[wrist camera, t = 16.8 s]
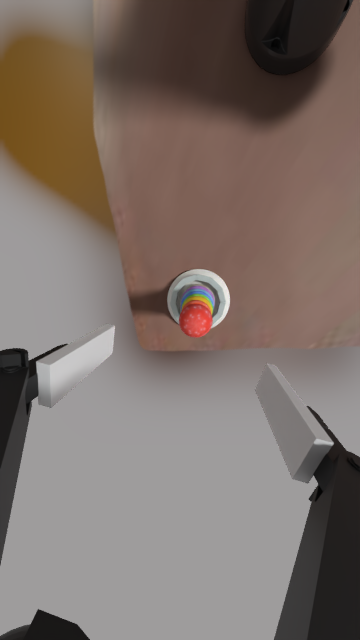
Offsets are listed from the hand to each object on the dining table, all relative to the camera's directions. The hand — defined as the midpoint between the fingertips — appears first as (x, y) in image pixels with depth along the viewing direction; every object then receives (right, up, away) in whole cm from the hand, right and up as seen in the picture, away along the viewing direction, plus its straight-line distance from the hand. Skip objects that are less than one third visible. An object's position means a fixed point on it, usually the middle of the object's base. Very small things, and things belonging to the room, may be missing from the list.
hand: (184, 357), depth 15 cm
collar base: (+4, +8, +27) cm, 29 cm away
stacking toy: (+4, +8, +27) cm, 28 cm away
